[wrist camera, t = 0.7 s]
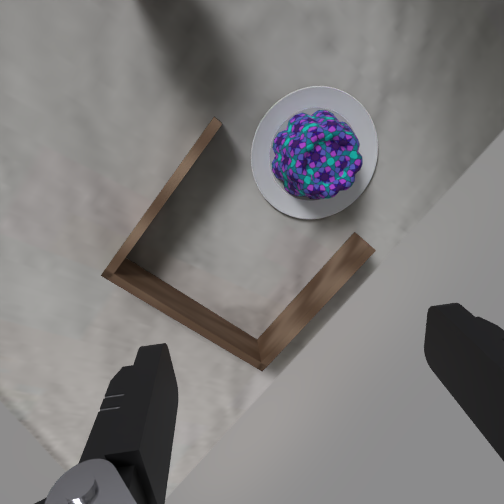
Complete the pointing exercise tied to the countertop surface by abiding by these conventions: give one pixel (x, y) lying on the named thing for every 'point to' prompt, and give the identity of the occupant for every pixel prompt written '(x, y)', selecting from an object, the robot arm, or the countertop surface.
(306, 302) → the box
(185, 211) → the countertop surface
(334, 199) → the pudding
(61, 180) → the countertop surface
